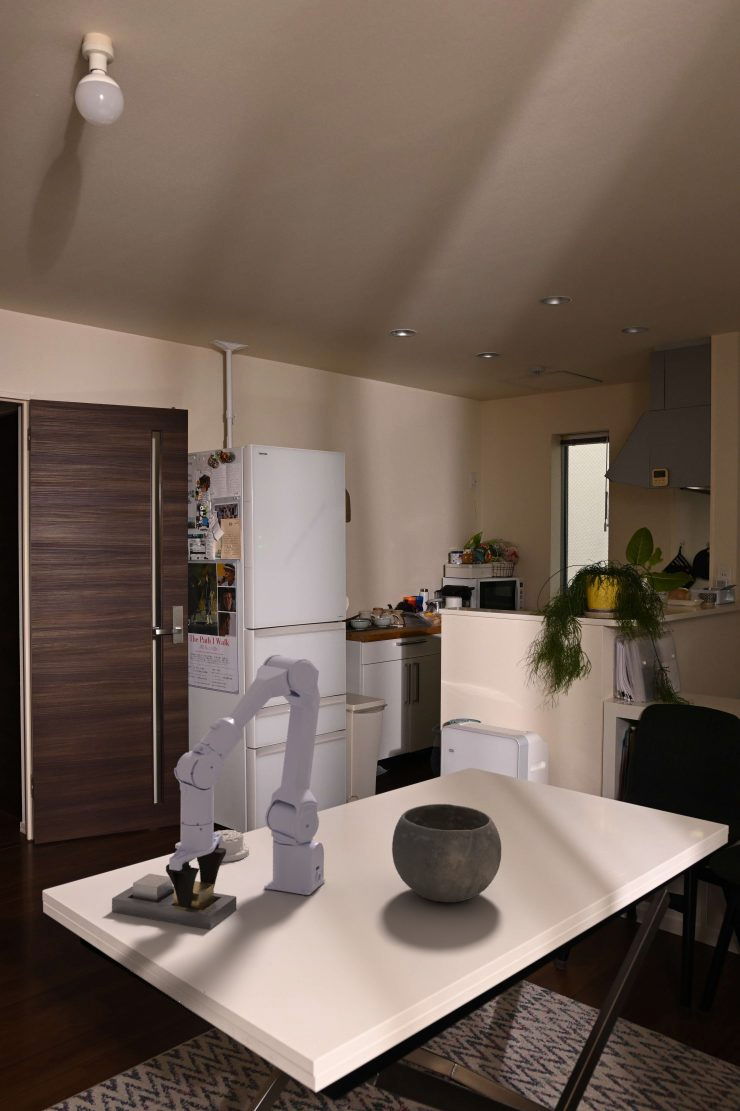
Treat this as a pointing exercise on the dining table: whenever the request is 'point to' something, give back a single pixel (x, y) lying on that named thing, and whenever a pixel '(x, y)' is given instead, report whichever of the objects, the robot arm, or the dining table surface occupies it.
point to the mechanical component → (233, 845)
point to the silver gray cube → (152, 888)
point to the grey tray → (175, 909)
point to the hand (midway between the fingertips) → (196, 897)
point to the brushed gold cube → (200, 896)
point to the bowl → (446, 851)
